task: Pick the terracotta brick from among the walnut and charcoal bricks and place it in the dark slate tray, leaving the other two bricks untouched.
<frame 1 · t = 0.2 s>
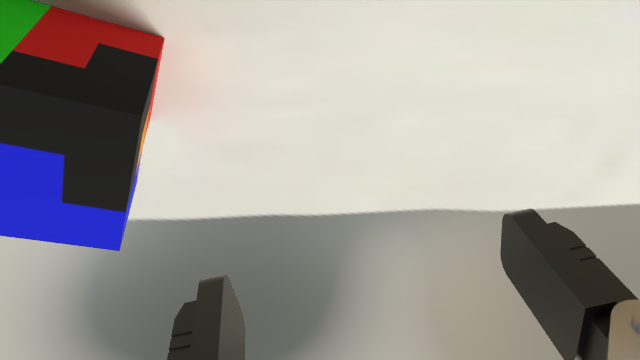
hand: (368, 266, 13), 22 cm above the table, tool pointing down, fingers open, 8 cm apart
puzzle toy: (77, 82, 32), on the table
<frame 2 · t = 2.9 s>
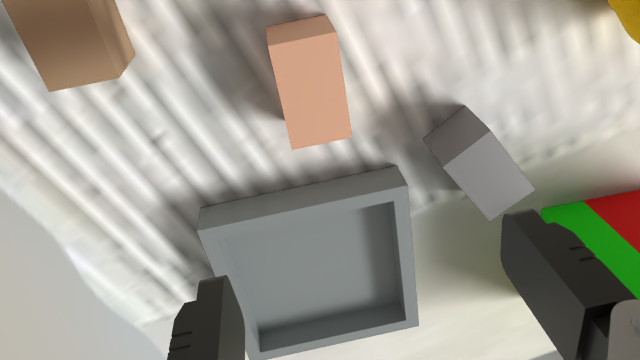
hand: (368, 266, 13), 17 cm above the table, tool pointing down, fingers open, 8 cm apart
walnut brick: (82, 5, 24), on the table
puzzle toy: (590, 242, 39), on the table
charcoal brick: (465, 149, 32), on the table
slate tray: (316, 260, 36), on the table
terracotta brick: (305, 70, 28), on the table
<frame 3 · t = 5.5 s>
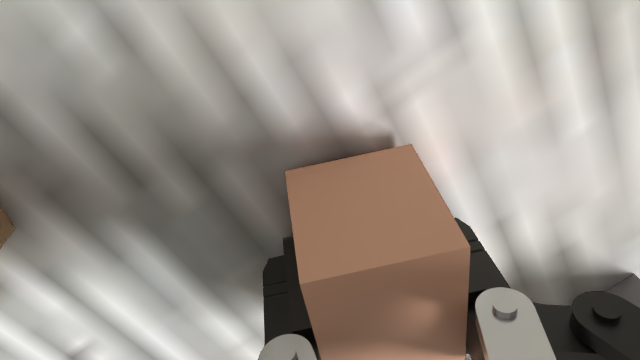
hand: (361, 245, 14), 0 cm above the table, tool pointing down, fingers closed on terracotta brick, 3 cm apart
charcoal brick: (619, 331, 19), on the table
terracotta brick: (360, 236, 14), on the table, touching gripper
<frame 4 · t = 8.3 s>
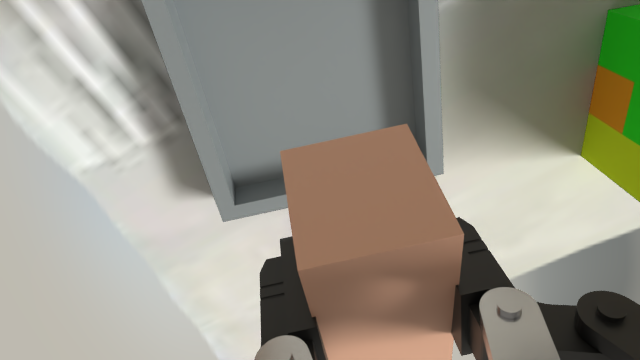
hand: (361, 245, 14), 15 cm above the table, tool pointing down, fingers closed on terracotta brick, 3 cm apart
slate tray: (308, 77, 27), on the table
terracotta brick: (354, 212, 14), point 14 cm above the table, tilted 10°, touching gripper
when the fingers open (2 cm above the table, at t = 11.4 s): terracotta brick stays where it is, resting on slate tray.
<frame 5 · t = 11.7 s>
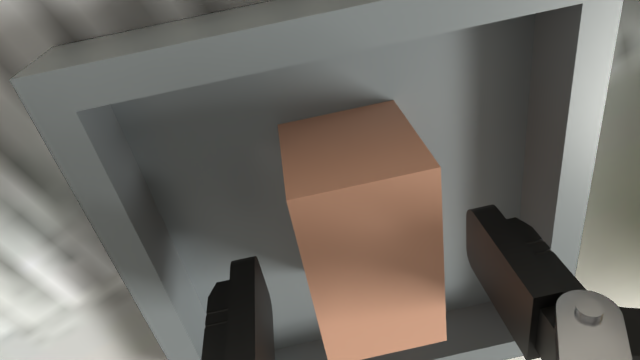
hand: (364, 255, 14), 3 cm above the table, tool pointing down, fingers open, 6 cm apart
slate tray: (347, 202, 16), on the table
terracotta brick: (349, 194, 15), point 1 cm above the table, touching slate tray
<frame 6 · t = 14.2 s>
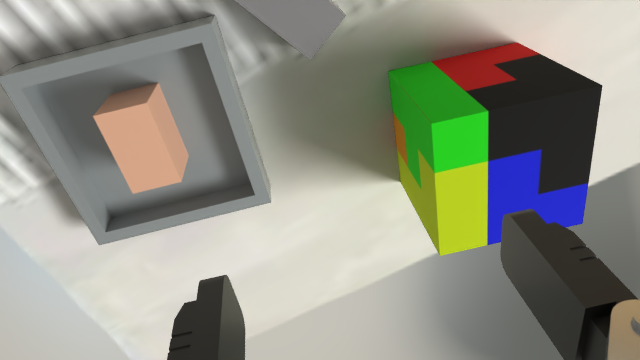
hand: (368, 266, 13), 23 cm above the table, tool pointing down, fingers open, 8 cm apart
puzzle toy: (453, 115, 37), on the table
slate tray: (155, 131, 35), on the table
terracotta brick: (151, 126, 34), point 1 cm above the table, touching slate tray
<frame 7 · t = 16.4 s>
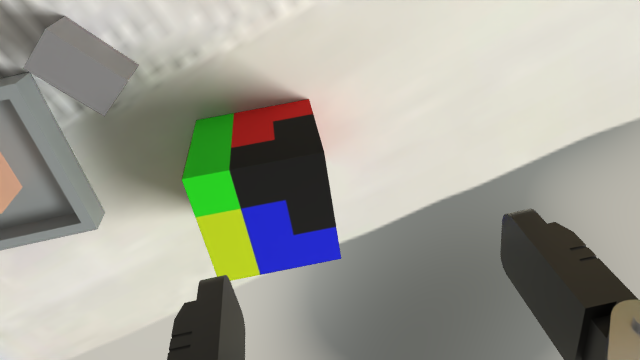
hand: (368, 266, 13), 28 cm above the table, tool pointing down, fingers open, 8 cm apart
puzzle toy: (264, 157, 43), on the table
charcoal brick: (92, 58, 36), on the table
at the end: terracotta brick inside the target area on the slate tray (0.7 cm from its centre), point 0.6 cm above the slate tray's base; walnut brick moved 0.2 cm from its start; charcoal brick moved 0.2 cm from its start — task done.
